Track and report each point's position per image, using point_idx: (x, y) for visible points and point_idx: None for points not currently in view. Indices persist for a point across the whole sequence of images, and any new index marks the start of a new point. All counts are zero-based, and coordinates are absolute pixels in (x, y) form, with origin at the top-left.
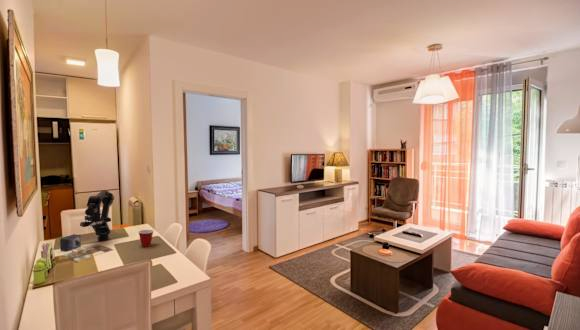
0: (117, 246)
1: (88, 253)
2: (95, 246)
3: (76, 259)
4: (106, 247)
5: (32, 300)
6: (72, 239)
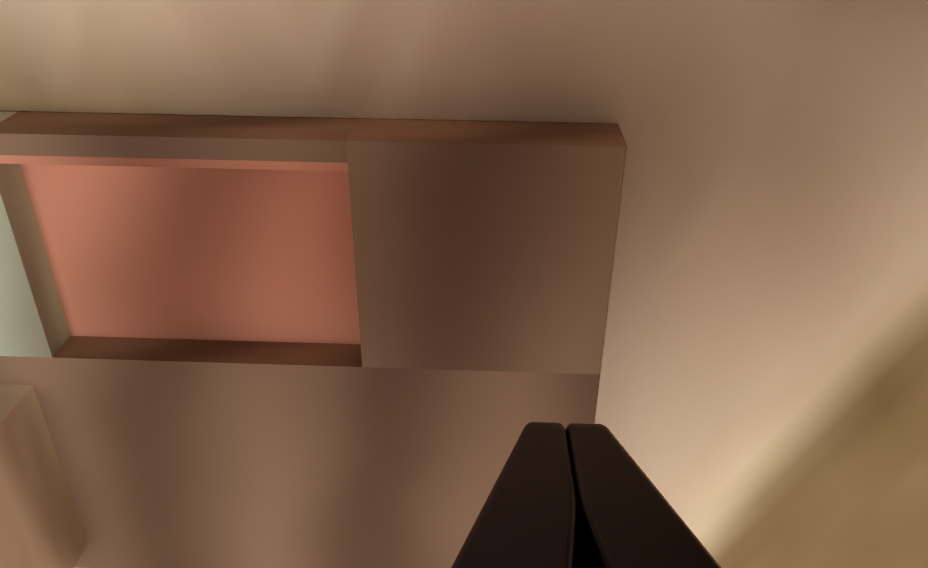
0: (817, 485)
1: (137, 530)
2: (454, 208)
3: None
4: None
5: None
6: None
